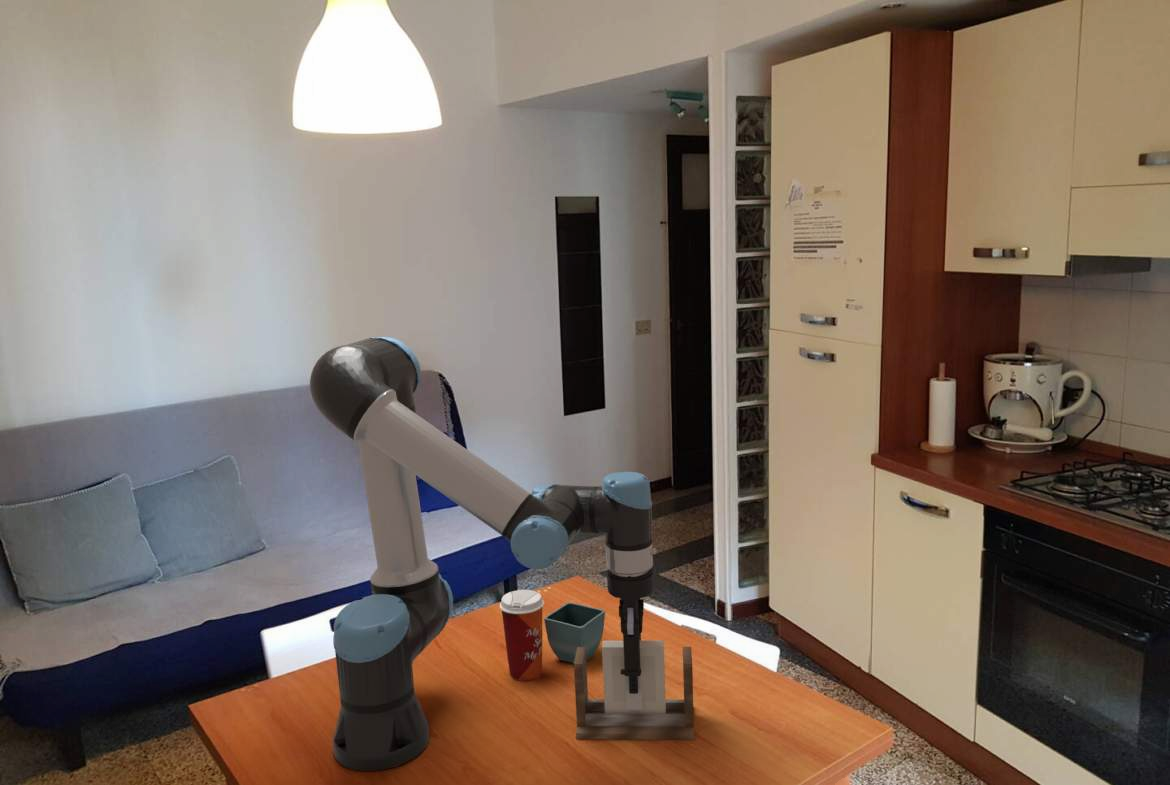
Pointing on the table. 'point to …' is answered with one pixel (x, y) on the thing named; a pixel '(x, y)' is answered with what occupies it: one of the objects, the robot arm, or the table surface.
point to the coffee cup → (523, 633)
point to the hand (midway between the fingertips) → (634, 703)
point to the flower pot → (574, 630)
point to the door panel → (651, 678)
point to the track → (633, 725)
